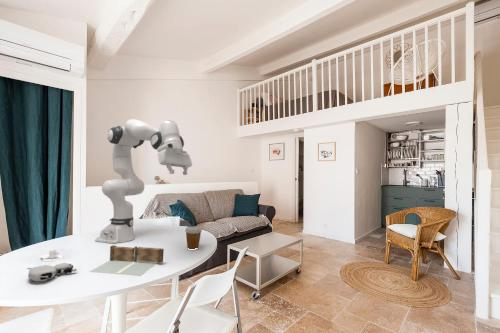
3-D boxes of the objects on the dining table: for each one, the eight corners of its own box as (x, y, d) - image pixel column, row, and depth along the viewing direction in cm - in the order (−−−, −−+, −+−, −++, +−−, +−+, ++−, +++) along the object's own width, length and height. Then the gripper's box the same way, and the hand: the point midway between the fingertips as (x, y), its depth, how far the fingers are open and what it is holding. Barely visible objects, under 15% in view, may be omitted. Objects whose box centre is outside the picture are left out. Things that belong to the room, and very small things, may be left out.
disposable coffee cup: (187, 245, 148) (187, 225, 148) (202, 246, 147) (203, 226, 148) (182, 250, 138) (183, 229, 138) (199, 251, 138) (199, 230, 138)
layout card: (89, 272, 107) (89, 271, 107) (118, 256, 127) (118, 255, 127) (140, 276, 104) (140, 275, 104) (162, 259, 124) (162, 258, 124)
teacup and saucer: (37, 260, 120) (37, 252, 120) (55, 255, 127) (55, 247, 127) (48, 263, 117) (49, 254, 117) (66, 257, 124) (66, 249, 124)
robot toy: (67, 269, 112) (23, 278, 100) (68, 259, 112) (25, 266, 100) (77, 276, 105) (32, 287, 92) (79, 266, 105) (34, 275, 93)
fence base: (109, 260, 120) (110, 245, 120) (112, 259, 122) (112, 244, 122) (135, 262, 118) (135, 247, 118) (137, 261, 120) (138, 246, 120)
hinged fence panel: (136, 260, 118) (136, 248, 118) (138, 259, 120) (138, 246, 120) (161, 262, 117) (161, 249, 117) (163, 261, 119) (163, 248, 119)
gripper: (183, 153, 137) (188, 177, 134) (154, 148, 119) (159, 175, 116) (191, 149, 134) (196, 173, 131) (163, 143, 116) (168, 170, 113)
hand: (179, 174), depth 123 cm, fingers open, 8 cm apart
